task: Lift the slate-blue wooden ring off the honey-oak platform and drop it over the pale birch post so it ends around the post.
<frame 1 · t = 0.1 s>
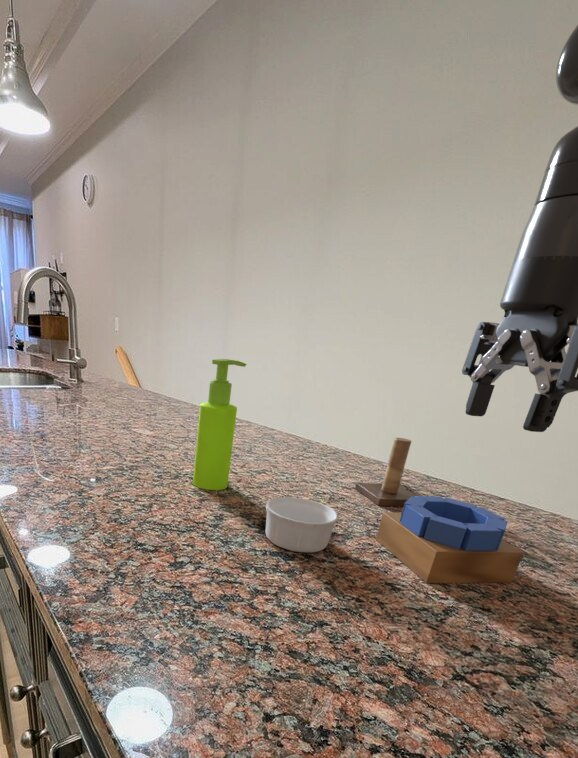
hand: (501, 422, 50), 17 cm above the table, tool pointing down, fingers open, 8 cm apart
platform: (438, 559, 56), on the table
ramekin: (295, 541, 57), on the table
ring: (448, 530, 54), point 4 cm above the table, touching platform
soap dispenser: (212, 485, 75), on the table
post: (387, 497, 77), on the table
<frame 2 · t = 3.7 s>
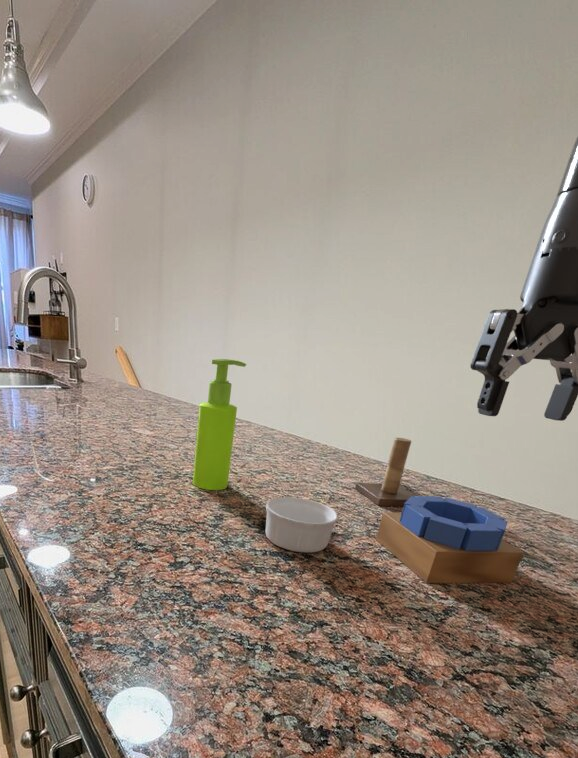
hand: (520, 417, 50), 18 cm above the table, tool pointing down, fingers open, 8 cm apart
nothing on the table moved.
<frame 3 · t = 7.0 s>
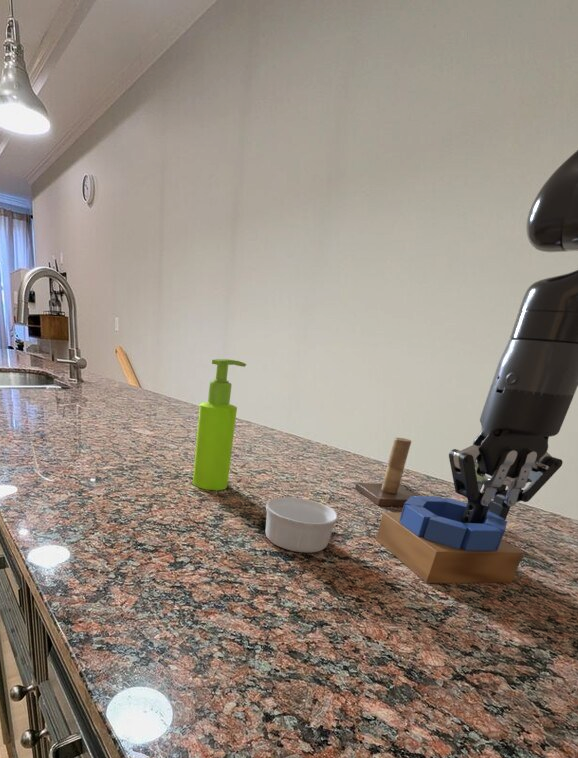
hand: (479, 530, 55), 4 cm above the table, tool pointing down, fingers closed on ring, 2 cm apart
ring: (448, 530, 54), point 4 cm above the table, touching gripper
everything else where it was.
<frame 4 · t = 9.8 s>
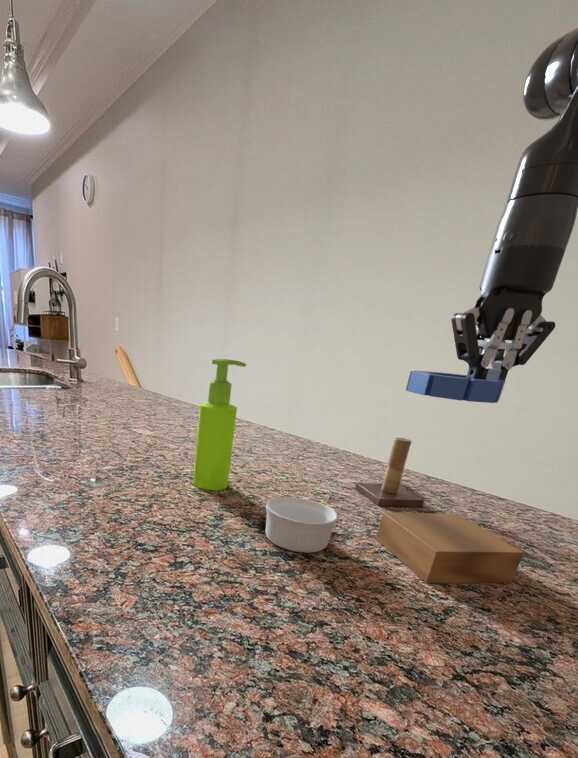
hand: (479, 396, 59), 19 cm above the table, tool pointing down, fingers closed on ring
ring: (451, 395, 58), point 19 cm above the table, touching gripper
everything else where it was.
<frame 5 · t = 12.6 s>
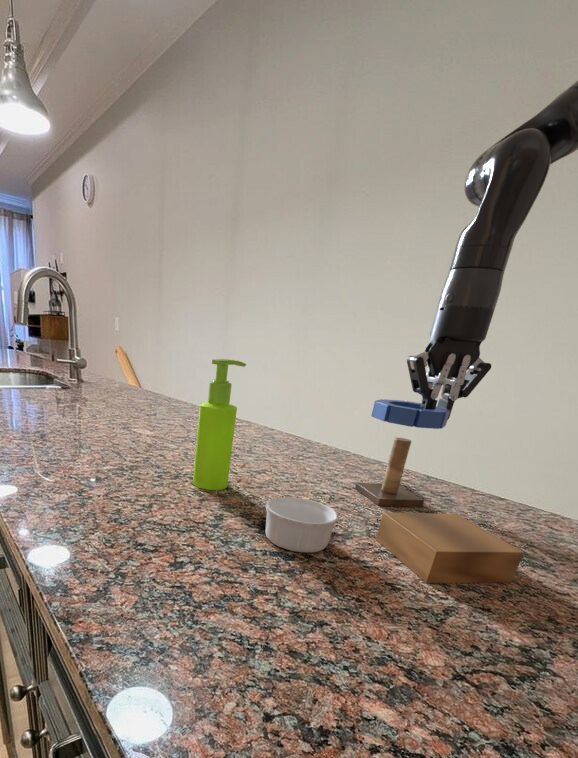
hand: (431, 422, 73), 13 cm above the table, tool pointing down, fingers closed on ring
ring: (407, 421, 72), point 13 cm above the table, touching gripper
everything else where it was.
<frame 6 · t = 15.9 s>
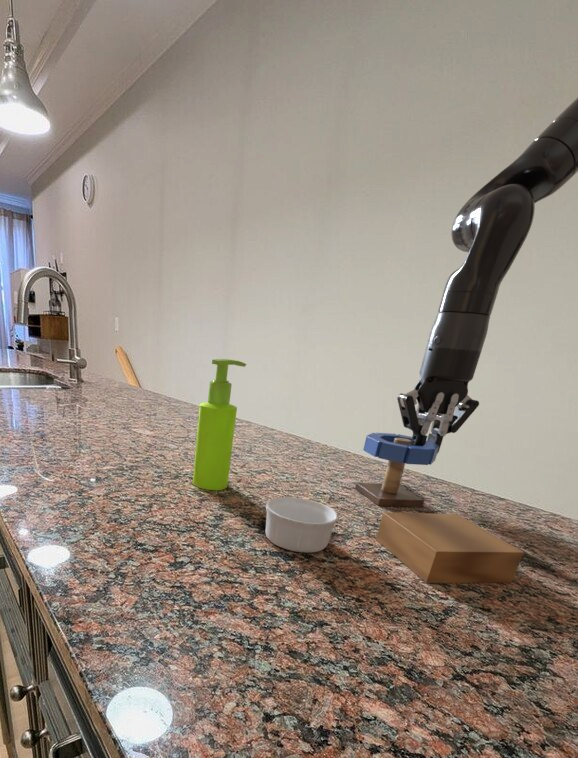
hand: (421, 455, 75), 8 cm above the table, tool pointing down, fingers closed on ring
ring: (398, 455, 74), point 7 cm above the table, touching gripper
everything else where it was.
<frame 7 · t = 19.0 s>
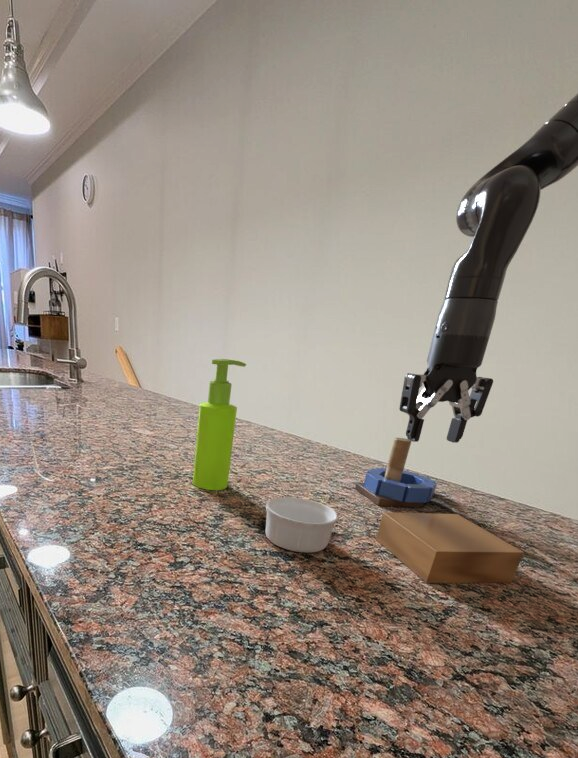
hand: (432, 440, 74), 10 cm above the table, tool pointing down, fingers open, 6 cm apart
ring: (397, 491, 77), point 1 cm above the table, touching post
everything else where it was.
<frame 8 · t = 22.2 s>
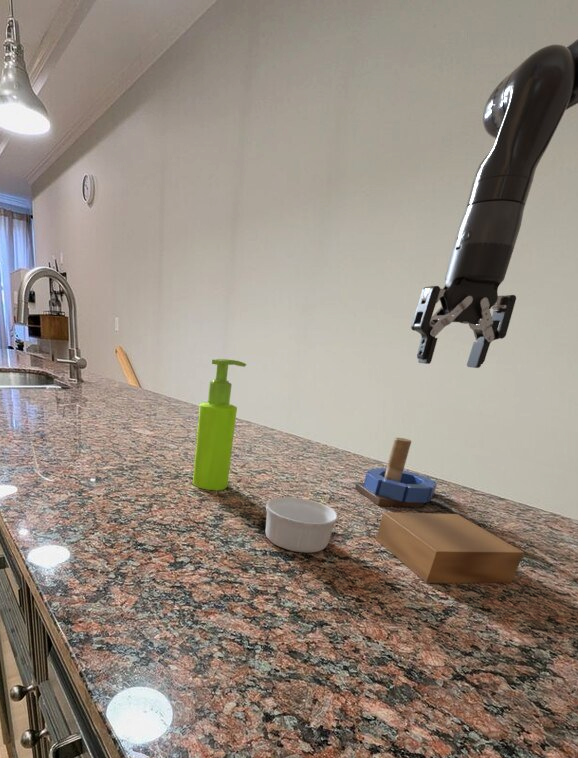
hand: (448, 365, 69), 22 cm above the table, tool pointing down, fingers open, 8 cm apart
nothing on the table moved.
at the end: ring touching post; ring 1.6 cm from the post (horizontally); ring point 1.2 cm above the table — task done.
